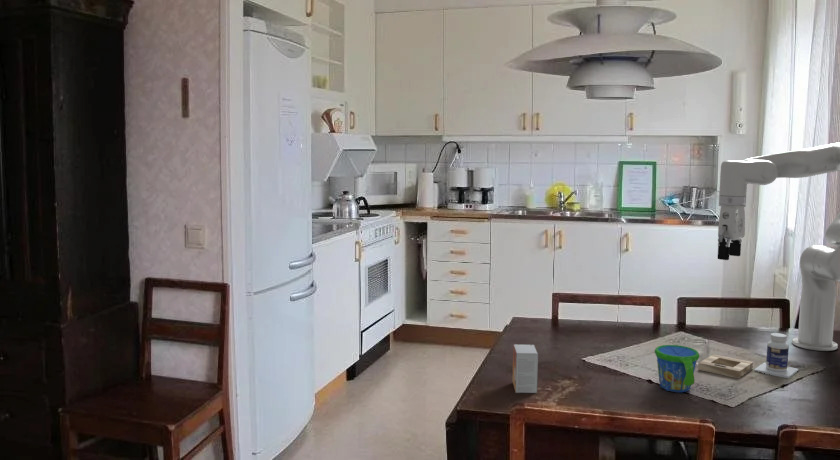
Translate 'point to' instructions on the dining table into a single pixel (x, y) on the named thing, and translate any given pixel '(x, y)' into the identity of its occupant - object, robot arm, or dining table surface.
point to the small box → (525, 368)
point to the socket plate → (725, 366)
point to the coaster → (784, 374)
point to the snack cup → (676, 367)
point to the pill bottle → (777, 352)
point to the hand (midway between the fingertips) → (729, 257)
